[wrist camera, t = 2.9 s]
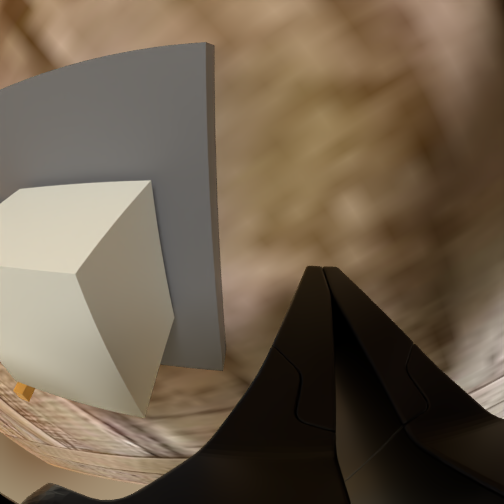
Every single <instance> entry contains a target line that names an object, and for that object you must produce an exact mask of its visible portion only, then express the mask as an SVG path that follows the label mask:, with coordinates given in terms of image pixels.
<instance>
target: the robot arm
mask: <svg viewBox="0 0 504 504" xmlns="http://www.w3.org/2000/svg"><path fill="white" fill-rule="evenodd" d="M0 504H18V503H17V502H15V501H13V500H12V499H10V498H9V497H7V496H5V495H4V494H2V493H1V492H0ZM21 504H504V419H502V418H499V417H496V416H494V415H493V414H491V413H489V412H488V411H487V410H485V409H484V408H483V407H482V406H481V405H480V404H478V403H477V402H476V401H475V400H474V399H473V398H472V397H471V396H469V395H468V394H467V393H466V392H465V391H464V390H463V389H462V388H460V387H459V386H458V385H457V384H456V383H455V382H454V381H453V380H451V379H450V378H449V377H448V376H447V375H446V374H445V373H444V372H443V371H442V370H441V369H439V368H438V367H437V366H436V365H435V364H434V363H433V362H432V361H431V360H430V359H429V358H428V357H427V356H426V355H425V354H424V353H423V352H422V351H421V350H420V349H419V348H418V346H417V345H416V344H414V345H413V341H412V340H411V339H410V338H409V337H408V336H407V335H406V334H405V333H404V332H403V331H402V330H401V329H400V328H399V327H398V326H397V325H396V324H395V323H394V322H393V321H392V320H391V319H390V318H389V317H388V316H387V315H386V314H385V313H384V312H383V311H382V310H381V309H380V308H379V307H378V306H377V305H376V304H375V303H374V302H373V301H372V300H371V299H370V298H369V297H368V296H367V295H366V294H365V293H364V292H363V291H362V290H361V289H360V288H359V287H358V286H357V285H355V284H354V283H353V282H352V281H351V280H350V279H349V278H348V277H347V276H346V275H345V274H344V273H343V272H342V271H341V270H340V269H339V268H337V267H323V268H322V267H320V266H307V267H306V269H305V271H304V274H303V276H302V279H301V281H300V283H299V286H298V288H297V290H296V293H295V295H294V297H293V300H292V302H291V304H290V307H289V309H288V311H287V313H286V316H285V318H284V320H283V322H282V325H281V327H280V329H279V331H278V334H277V336H276V338H275V340H274V342H273V345H272V347H271V348H270V351H269V353H268V355H267V357H266V359H265V361H264V363H263V365H262V367H261V369H260V370H259V372H258V374H257V376H256V377H255V379H254V381H253V382H252V384H251V385H250V387H249V388H248V390H247V391H246V393H245V394H244V396H243V397H242V398H241V400H240V401H239V402H238V404H237V405H236V406H235V408H234V409H233V411H232V412H231V413H230V415H229V416H228V417H227V419H226V420H225V421H224V423H223V424H222V425H221V427H220V428H219V429H218V430H217V432H216V433H215V434H214V435H213V437H212V438H211V439H210V440H209V441H208V442H207V443H206V444H205V445H204V446H203V447H202V448H201V449H200V450H199V451H198V452H197V453H196V454H194V455H193V456H191V457H190V458H188V459H187V460H186V461H184V462H183V463H181V464H180V465H178V466H177V467H175V468H174V469H172V470H171V471H169V472H167V473H166V474H164V475H163V476H161V477H160V478H158V479H156V480H155V481H153V482H152V483H150V484H148V485H147V486H145V487H143V488H142V489H140V490H138V491H137V492H135V493H133V494H131V495H129V496H126V497H124V498H120V499H115V500H99V499H94V498H90V497H87V496H85V495H82V494H79V493H77V492H74V491H72V490H69V489H67V488H64V487H62V486H59V485H56V484H53V483H48V484H46V485H44V486H43V487H41V488H40V489H38V490H37V491H35V492H34V493H33V494H31V495H30V496H28V497H27V498H26V499H25V500H24V501H23V502H22V503H21Z"/></svg>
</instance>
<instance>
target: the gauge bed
mask: <svg viewBox="0 0 504 504" xmlns="http://www.w3.org/2000/svg"><path fill="white" fill-rule="evenodd" d="M144 180H151V183H152V191H153V198H154V206H155V213H156V220H157V226H158V233H159V239H160V245H161V251H162V257H163V262H164V268H165V273H166V279H167V284H168V289H169V294H170V299H171V304H172V308H173V313H174V320H173V324H172V327H171V330H170V333H169V336H168V340H167V343H166V346H165V349H164V353H163V356H162V359H161V363H160V364H161V365H169V366H178V367H187V368H197V369H207V370H219V371H223V368H224V361H225V353H226V343H225V329H224V315H223V300H222V284H221V266H220V248H219V228H218V205H217V178H216V145H215V91H214V45H212V44H209V43H206V42H202V43H189V44H179V45H169V46H161V47H154V48H147V49H141V50H135V51H129V52H123V53H118V54H113V55H109V56H104V57H100V58H95V59H91V60H87V61H83V62H79V63H76V64H72V65H69V66H65V67H62V68H58V69H55V70H52V71H49V72H46V73H43V74H40V75H37V76H34V77H31V78H29V79H26V80H23V81H21V82H18V83H15V84H13V85H10V86H8V87H6V88H3V89H1V90H0V203H2V202H3V201H4V200H6V199H7V198H8V197H10V196H11V195H12V194H14V193H15V192H16V191H18V190H19V189H24V188H34V187H44V186H55V185H68V184H82V183H98V182H117V181H144Z"/></svg>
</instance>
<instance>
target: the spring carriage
mask: <svg viewBox="0 0 504 504" xmlns="http://www.w3.org/2000/svg"><path fill="white" fill-rule="evenodd" d="M173 320H174V313H173V308H172V304H171V299H170V294H169V289H168V284H167V279H166V273H165V268H164V262H163V257H162V251H161V245H160V239H159V233H158V226H157V220H156V213H155V206H154V198H153V191H152V183H151V180H144V181H117V182H98V183H82V184H68V185H55V186H44V187H34V188H24V189H19V190H18V191H16V192H15V193H14V194H12V195H11V196H10V197H8V198H7V199H6V200H4V201H3V202H2V203H0V362H1V363H2V364H3V366H4V367H5V368H6V369H7V371H8V372H9V373H10V374H11V376H12V377H13V378H14V379H15V381H17V382H20V383H22V384H25V385H28V386H30V387H33V388H36V389H39V390H41V391H44V392H47V393H50V394H53V395H56V396H59V397H62V398H66V399H69V400H72V401H75V402H79V403H82V404H86V405H90V406H93V407H97V408H101V409H105V410H109V411H113V412H118V413H122V414H127V415H131V416H136V417H141V418H145V416H146V412H147V408H148V405H149V401H150V397H151V394H152V390H153V387H154V383H155V380H156V376H157V373H158V369H159V366H160V363H161V359H162V356H163V353H164V349H165V346H166V343H167V340H168V336H169V333H170V330H171V327H172V324H173Z"/></svg>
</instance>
